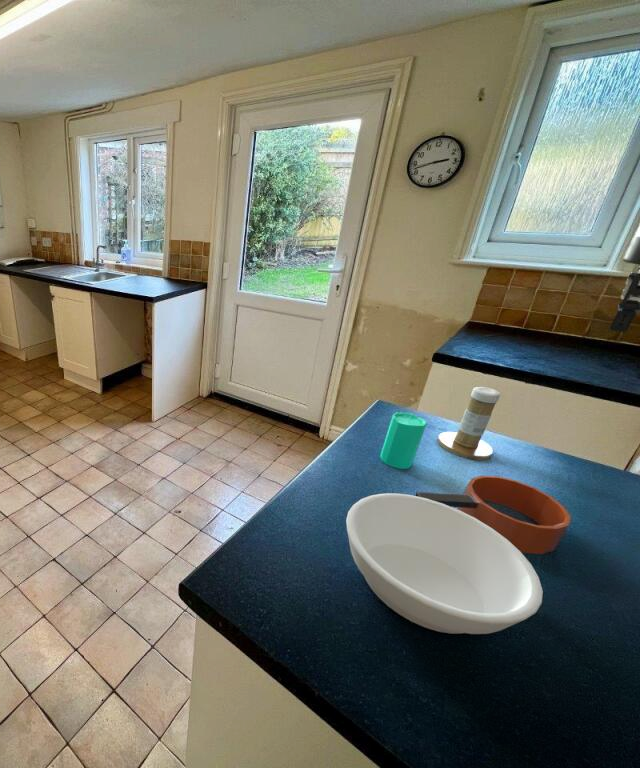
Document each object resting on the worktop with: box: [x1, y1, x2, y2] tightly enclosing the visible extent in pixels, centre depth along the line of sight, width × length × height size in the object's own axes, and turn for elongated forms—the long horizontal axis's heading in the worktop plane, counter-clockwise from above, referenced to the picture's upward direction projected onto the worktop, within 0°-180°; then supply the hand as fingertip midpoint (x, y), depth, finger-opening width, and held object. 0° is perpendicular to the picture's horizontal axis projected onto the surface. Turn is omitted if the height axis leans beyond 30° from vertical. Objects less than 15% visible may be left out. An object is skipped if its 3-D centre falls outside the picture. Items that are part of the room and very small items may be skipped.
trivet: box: [437, 431, 494, 461], centre depth 95 cm, size 10×10×1 cm
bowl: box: [345, 492, 544, 635], centre depth 60 cm, size 22×22×8 cm
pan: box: [414, 474, 572, 555], centre depth 72 cm, size 22×13×6 cm, turn 84°
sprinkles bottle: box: [454, 386, 501, 448], centre depth 91 cm, size 5×5×14 cm
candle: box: [379, 411, 427, 470], centre depth 88 cm, size 6×6×12 cm
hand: (619, 326), depth 78 cm, fingers open, 8 cm apart
